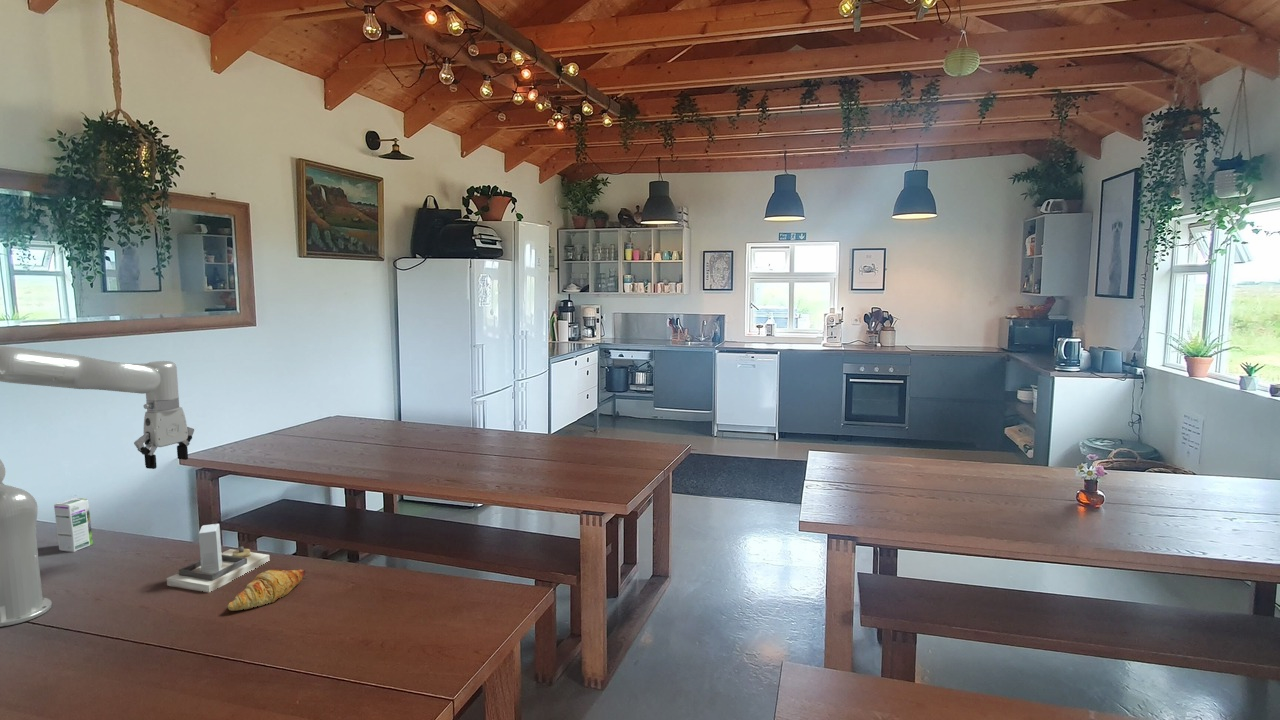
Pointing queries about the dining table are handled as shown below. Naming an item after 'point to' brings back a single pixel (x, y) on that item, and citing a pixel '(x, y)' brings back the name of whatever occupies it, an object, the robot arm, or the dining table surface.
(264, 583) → the croissant
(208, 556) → the skincare box
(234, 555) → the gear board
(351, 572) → the dining table surface
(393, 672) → the dining table surface
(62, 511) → the syrup box
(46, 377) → the robot arm
